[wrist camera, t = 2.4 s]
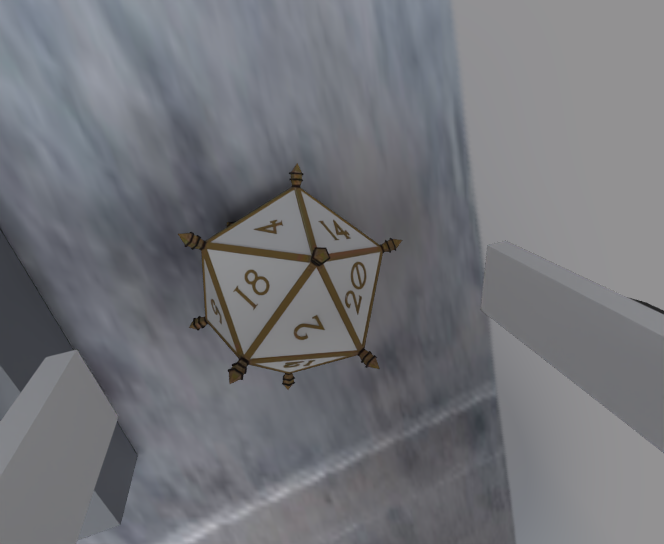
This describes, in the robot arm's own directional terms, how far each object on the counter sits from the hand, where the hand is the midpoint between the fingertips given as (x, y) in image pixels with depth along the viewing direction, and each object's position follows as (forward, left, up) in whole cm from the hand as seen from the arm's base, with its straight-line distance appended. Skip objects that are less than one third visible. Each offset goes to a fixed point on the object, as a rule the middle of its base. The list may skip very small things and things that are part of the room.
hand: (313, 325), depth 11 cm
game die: (0, 0, -8) cm, 8 cm away
